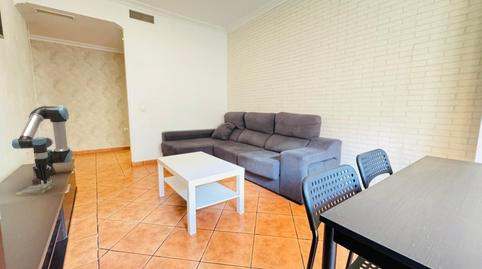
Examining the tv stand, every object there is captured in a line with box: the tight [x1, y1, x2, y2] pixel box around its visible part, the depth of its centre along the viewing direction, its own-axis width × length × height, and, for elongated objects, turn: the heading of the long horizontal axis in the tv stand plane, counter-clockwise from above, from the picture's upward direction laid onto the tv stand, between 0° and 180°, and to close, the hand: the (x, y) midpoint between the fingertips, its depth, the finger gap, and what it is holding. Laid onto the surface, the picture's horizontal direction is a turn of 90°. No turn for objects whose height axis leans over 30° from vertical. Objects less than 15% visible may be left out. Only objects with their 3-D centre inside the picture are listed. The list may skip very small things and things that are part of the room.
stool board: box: [15, 178, 55, 197], centre depth 165 cm, size 18×14×6 cm
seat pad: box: [19, 187, 35, 193], centre depth 162 cm, size 11×11×1 cm
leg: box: [35, 178, 53, 191], centre depth 167 cm, size 15×4×4 cm, turn 10°
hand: (44, 187), depth 164 cm, fingers closed
